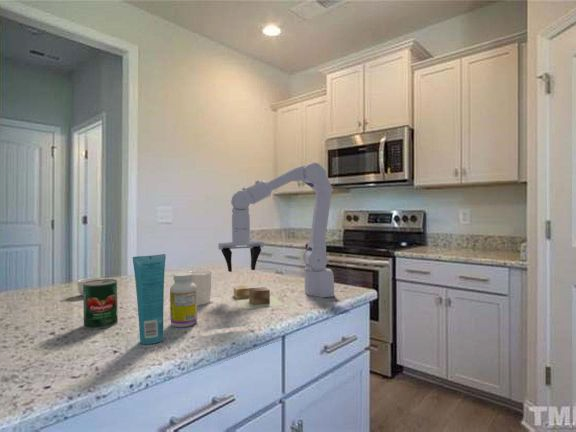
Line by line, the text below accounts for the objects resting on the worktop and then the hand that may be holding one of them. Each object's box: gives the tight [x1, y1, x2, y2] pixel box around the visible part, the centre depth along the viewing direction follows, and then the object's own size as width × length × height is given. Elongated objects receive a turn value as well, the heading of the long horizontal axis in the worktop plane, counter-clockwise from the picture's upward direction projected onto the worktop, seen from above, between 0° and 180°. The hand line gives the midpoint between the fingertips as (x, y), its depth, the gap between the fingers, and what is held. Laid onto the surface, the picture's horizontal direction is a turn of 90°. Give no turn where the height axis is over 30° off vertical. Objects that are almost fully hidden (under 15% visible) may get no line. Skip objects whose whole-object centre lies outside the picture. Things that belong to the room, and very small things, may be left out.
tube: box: [132, 253, 167, 345], centre depth 83 cm, size 7×5×19 cm, turn 140°
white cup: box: [186, 270, 213, 306], centre depth 114 cm, size 8×8×10 cm
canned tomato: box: [82, 278, 119, 330], centre depth 96 cm, size 8×8×11 cm
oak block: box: [233, 285, 250, 299], centre depth 121 cm, size 4×4×4 cm
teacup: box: [77, 277, 103, 297], centre depth 131 cm, size 10×8×5 cm
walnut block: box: [248, 286, 271, 305], centre depth 113 cm, size 5×5×4 cm
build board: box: [235, 295, 285, 310], centre depth 113 cm, size 12×12×1 cm
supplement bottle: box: [169, 272, 198, 328], centre depth 95 cm, size 7×7×13 cm
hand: (241, 270), depth 121 cm, fingers open, 7 cm apart
